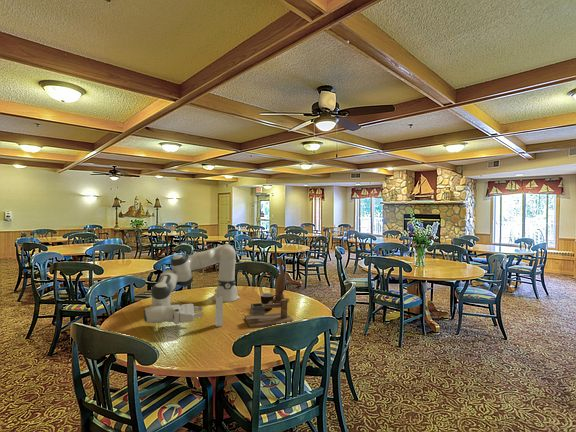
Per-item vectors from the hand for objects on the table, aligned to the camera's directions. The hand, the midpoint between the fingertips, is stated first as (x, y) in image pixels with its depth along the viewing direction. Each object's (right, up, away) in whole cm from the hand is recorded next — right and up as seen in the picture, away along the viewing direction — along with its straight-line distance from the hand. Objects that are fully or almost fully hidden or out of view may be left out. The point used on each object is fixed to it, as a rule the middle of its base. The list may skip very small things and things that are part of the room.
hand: (202, 311), depth 181 cm
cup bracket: (+36, -9, +12) cm, 39 cm away
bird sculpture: (+41, -8, +50) cm, 65 cm away
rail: (+8, -9, +3) cm, 13 cm away
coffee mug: (+35, -9, +33) cm, 48 cm away
